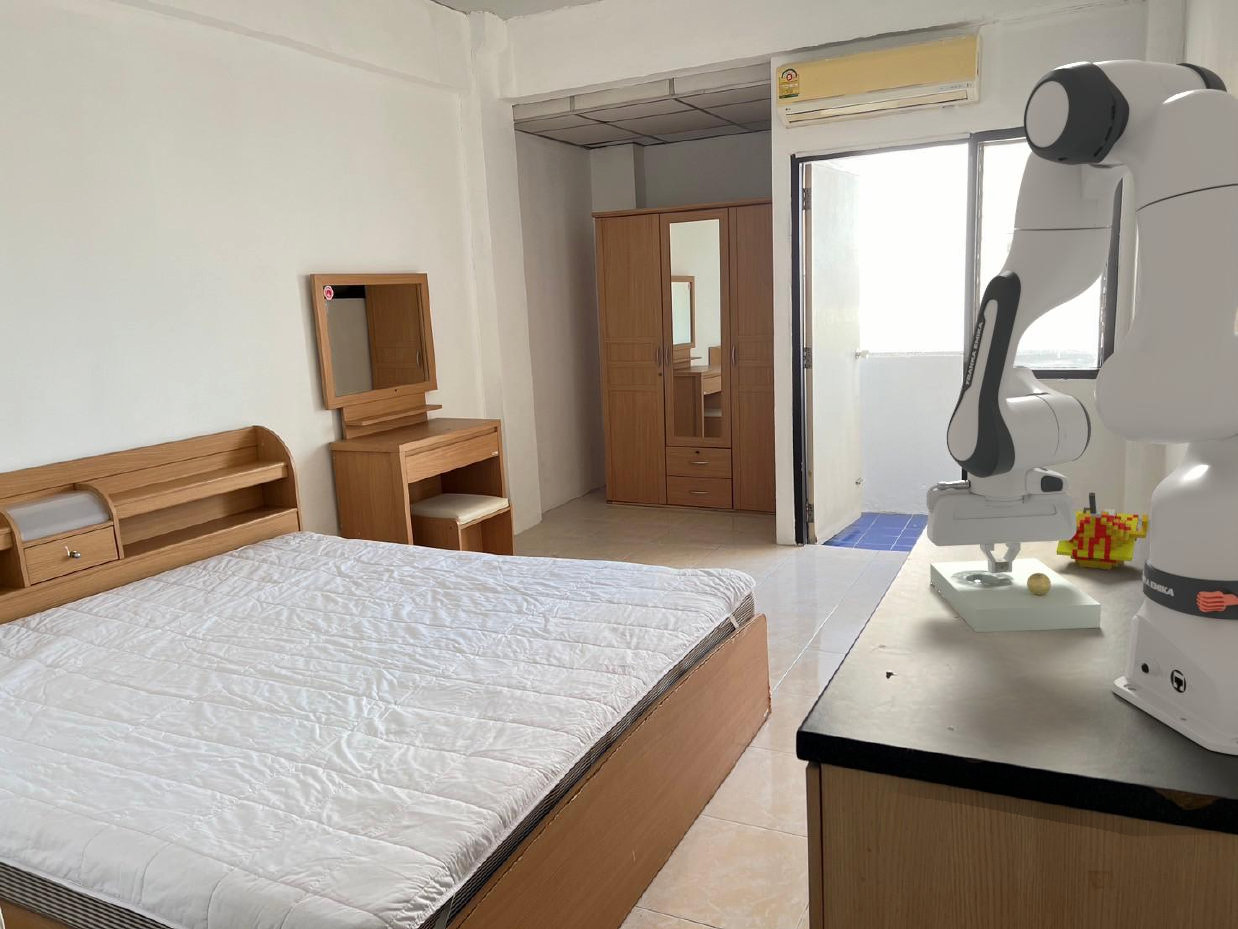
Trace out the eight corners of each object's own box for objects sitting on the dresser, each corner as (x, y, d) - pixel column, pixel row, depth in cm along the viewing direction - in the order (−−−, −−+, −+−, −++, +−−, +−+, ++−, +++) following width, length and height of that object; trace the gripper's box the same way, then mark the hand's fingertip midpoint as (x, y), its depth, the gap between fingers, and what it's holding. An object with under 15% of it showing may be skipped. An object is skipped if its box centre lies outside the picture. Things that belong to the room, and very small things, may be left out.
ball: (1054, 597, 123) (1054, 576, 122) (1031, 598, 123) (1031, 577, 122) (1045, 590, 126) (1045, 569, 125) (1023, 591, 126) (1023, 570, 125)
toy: (1150, 545, 147) (1148, 476, 139) (1144, 589, 141) (1141, 519, 133) (1059, 538, 155) (1052, 472, 147) (1049, 579, 149) (1041, 512, 141)
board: (1100, 627, 119) (1100, 604, 119) (975, 632, 121) (976, 609, 120) (1035, 578, 141) (1035, 558, 140) (930, 582, 142) (930, 563, 142)
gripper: (932, 487, 127) (933, 581, 130) (1082, 479, 126) (1080, 575, 128) (920, 478, 134) (921, 568, 136) (1063, 471, 132) (1061, 562, 134)
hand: (999, 571), depth 132 cm, fingers closed
